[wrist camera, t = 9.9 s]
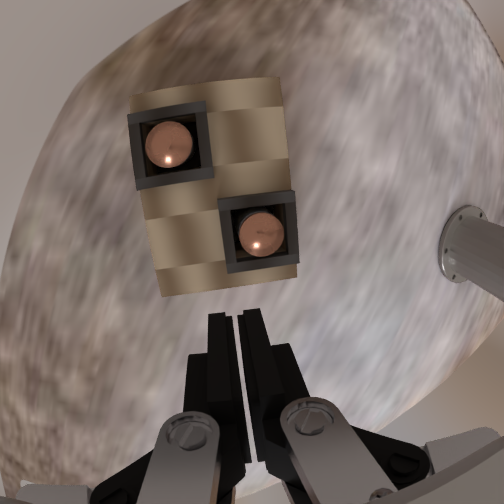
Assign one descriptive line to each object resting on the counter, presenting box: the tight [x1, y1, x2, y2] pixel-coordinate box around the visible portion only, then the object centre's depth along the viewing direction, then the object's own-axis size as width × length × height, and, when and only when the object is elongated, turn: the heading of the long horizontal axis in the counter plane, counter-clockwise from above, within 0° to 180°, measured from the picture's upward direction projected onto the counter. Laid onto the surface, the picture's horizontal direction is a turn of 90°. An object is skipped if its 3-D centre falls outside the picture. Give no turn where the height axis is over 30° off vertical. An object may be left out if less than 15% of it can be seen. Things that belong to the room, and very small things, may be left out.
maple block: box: [127, 77, 300, 297], centre depth 29 cm, size 14×20×6 cm
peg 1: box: [145, 121, 196, 168], centre depth 26 cm, size 4×4×7 cm
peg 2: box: [234, 206, 284, 257], centre depth 30 cm, size 4×4×7 cm
